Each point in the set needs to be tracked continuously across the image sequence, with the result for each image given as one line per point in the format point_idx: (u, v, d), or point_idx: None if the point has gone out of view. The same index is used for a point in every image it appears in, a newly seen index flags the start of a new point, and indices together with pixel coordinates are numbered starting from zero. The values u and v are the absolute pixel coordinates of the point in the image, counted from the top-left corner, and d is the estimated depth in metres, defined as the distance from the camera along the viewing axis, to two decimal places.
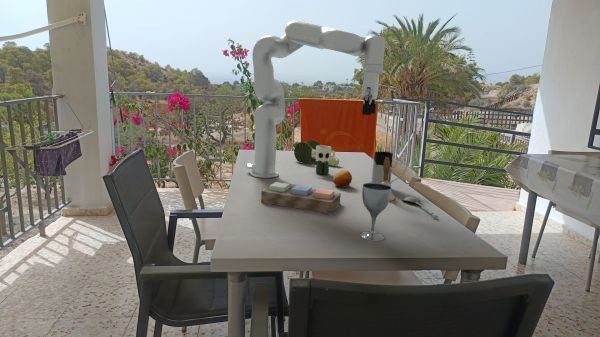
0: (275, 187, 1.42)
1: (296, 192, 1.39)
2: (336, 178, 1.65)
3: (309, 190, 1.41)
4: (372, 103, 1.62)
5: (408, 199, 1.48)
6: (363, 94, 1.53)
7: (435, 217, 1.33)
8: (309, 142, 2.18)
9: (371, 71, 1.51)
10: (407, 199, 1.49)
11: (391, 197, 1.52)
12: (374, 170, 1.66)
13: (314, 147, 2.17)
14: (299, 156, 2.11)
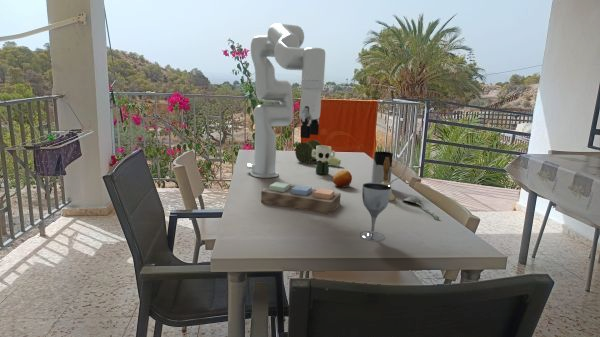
0: (275, 187, 1.42)
1: (296, 192, 1.39)
2: (336, 178, 1.65)
3: (309, 190, 1.41)
4: (315, 123, 1.42)
5: (408, 199, 1.48)
6: (301, 114, 1.33)
7: (436, 217, 1.33)
8: (310, 142, 2.17)
9: (309, 88, 1.31)
10: (407, 199, 1.48)
11: (391, 197, 1.52)
12: (374, 170, 1.66)
13: (315, 147, 2.16)
14: (300, 156, 2.10)
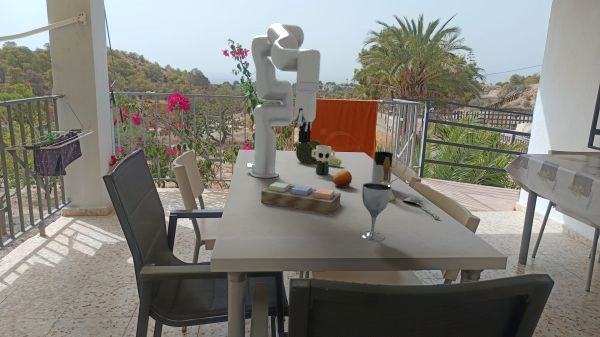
0: (275, 187, 1.42)
1: (296, 192, 1.39)
2: (336, 178, 1.65)
3: (309, 190, 1.41)
4: (306, 128, 1.37)
5: (409, 199, 1.48)
6: (295, 116, 1.32)
7: (436, 218, 1.33)
8: (311, 142, 2.17)
9: (304, 90, 1.30)
10: (408, 199, 1.48)
11: (391, 197, 1.52)
12: (374, 170, 1.66)
13: None
14: (301, 156, 2.10)
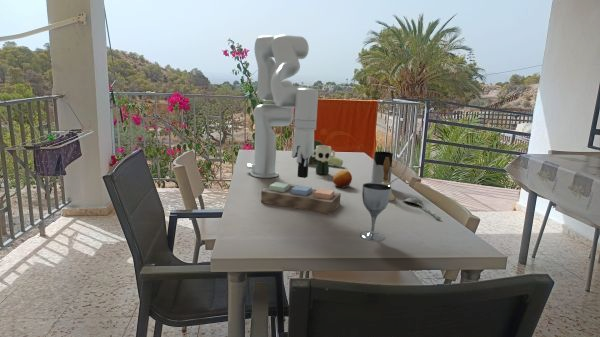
0: (275, 187, 1.42)
1: (296, 192, 1.39)
2: (336, 178, 1.65)
3: (309, 190, 1.41)
4: None
5: (409, 200, 1.47)
6: (293, 153, 1.34)
7: (437, 218, 1.32)
8: None
9: (302, 128, 1.33)
10: (408, 200, 1.48)
11: (391, 197, 1.52)
12: (374, 170, 1.66)
13: None
14: None
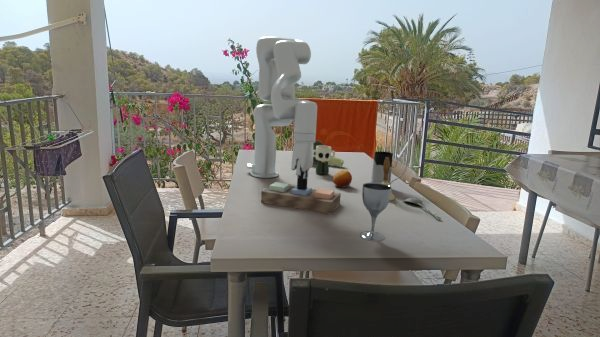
0: (275, 187, 1.42)
1: (296, 193, 1.39)
2: (336, 178, 1.65)
3: (309, 191, 1.41)
4: None
5: (410, 200, 1.47)
6: (293, 166, 1.35)
7: (438, 218, 1.32)
8: (313, 143, 2.16)
9: (301, 141, 1.34)
10: (409, 200, 1.47)
11: (391, 197, 1.52)
12: (374, 170, 1.66)
13: None
14: None
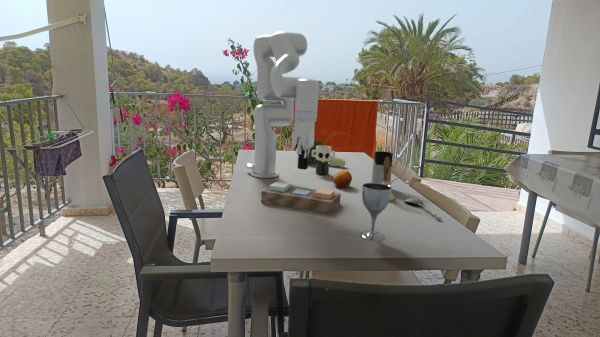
0: (275, 187, 1.42)
1: None
2: (336, 178, 1.65)
3: None
4: None
5: (410, 200, 1.47)
6: (294, 145, 1.34)
7: (438, 219, 1.32)
8: (314, 143, 2.16)
9: (302, 119, 1.32)
10: (409, 200, 1.47)
11: (391, 197, 1.52)
12: (374, 170, 1.66)
13: None
14: None
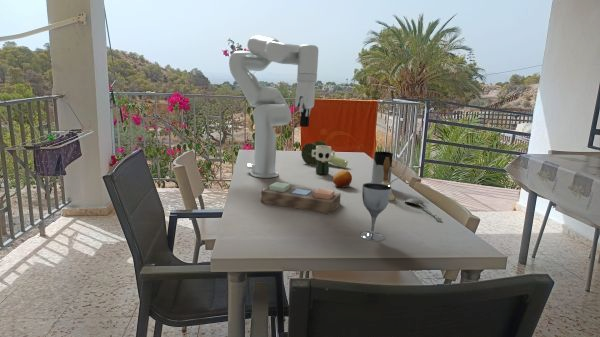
0: (275, 187, 1.42)
1: None
2: (336, 178, 1.65)
3: None
4: None
5: (411, 201, 1.46)
6: (296, 103, 1.51)
7: (438, 219, 1.31)
8: (316, 143, 2.15)
9: (304, 80, 1.49)
10: (410, 201, 1.47)
11: (391, 197, 1.52)
12: (374, 170, 1.66)
13: None
14: (307, 157, 2.08)
